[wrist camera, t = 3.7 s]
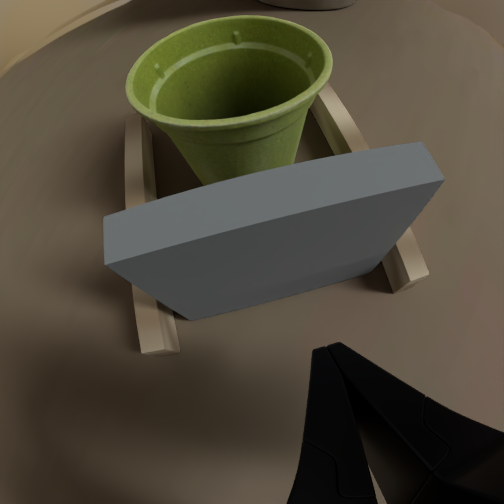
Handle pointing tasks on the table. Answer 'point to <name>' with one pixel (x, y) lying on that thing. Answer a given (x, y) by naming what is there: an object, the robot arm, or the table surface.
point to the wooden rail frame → (144, 190)
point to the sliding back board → (271, 230)
